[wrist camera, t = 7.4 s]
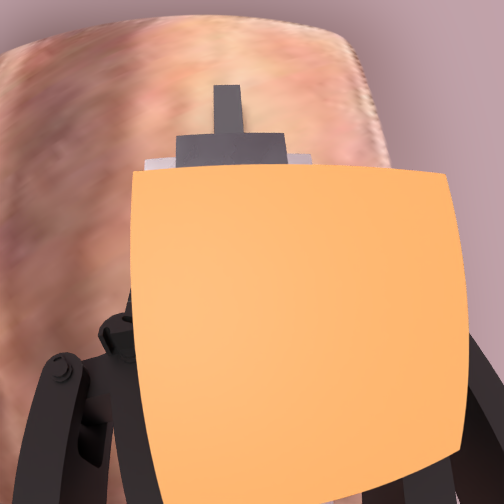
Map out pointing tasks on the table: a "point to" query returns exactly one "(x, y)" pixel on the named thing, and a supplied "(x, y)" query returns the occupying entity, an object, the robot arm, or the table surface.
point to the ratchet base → (229, 153)
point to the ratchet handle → (295, 326)
